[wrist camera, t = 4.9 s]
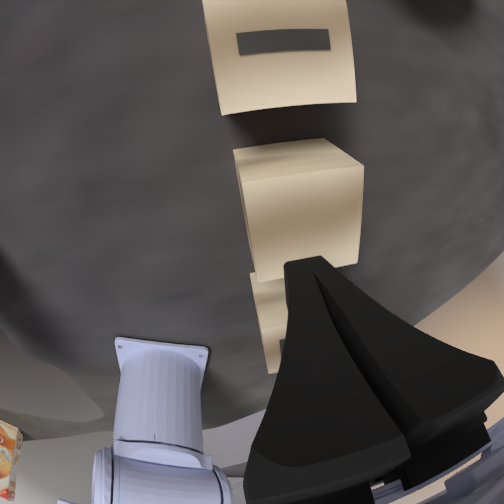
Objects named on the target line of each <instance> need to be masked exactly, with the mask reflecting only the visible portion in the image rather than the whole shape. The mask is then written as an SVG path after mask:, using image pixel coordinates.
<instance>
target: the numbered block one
mask: <svg viewBox="0 0 504 504" xmlns="http://www.w3.org/2000/svg"><path fill="white" fill-rule="evenodd" d="M202 3H203V10H204V17H205V23H206V29H207V35H208V41H209V47H210V53H211V59H212V65H213V71H214V77H215V82H216V88H217V94H218V100H219V105H220V109H221V114H222V115H227V114H233V113H239V112H245V111H252V110H260V109H267V108H276V107H285V106H296V105H308V104H323V103H347V102H356V86H355V72H354V60H353V50H352V41H351V33H350V25H349V18H348V11H347V5H346V0H202Z"/></svg>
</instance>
